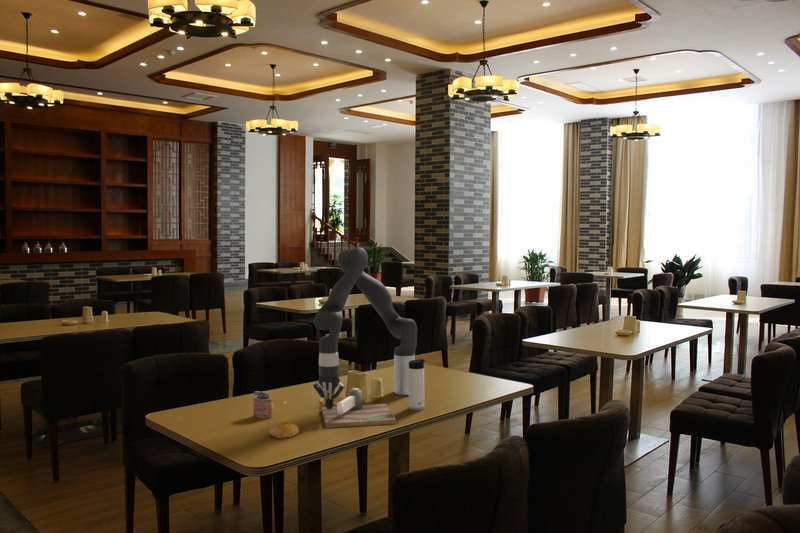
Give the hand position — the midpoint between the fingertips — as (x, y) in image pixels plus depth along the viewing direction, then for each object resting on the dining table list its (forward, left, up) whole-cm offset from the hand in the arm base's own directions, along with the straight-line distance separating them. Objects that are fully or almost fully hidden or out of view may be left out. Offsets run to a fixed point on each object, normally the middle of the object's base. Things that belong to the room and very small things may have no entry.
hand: (329, 408), depth 250 cm
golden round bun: (+16, -17, -4) cm, 24 cm away
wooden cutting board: (0, +11, -4) cm, 11 cm away
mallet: (-1, +8, -2) cm, 8 cm away
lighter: (-8, -25, -4) cm, 27 cm away
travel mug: (-7, +36, -4) cm, 37 cm away
